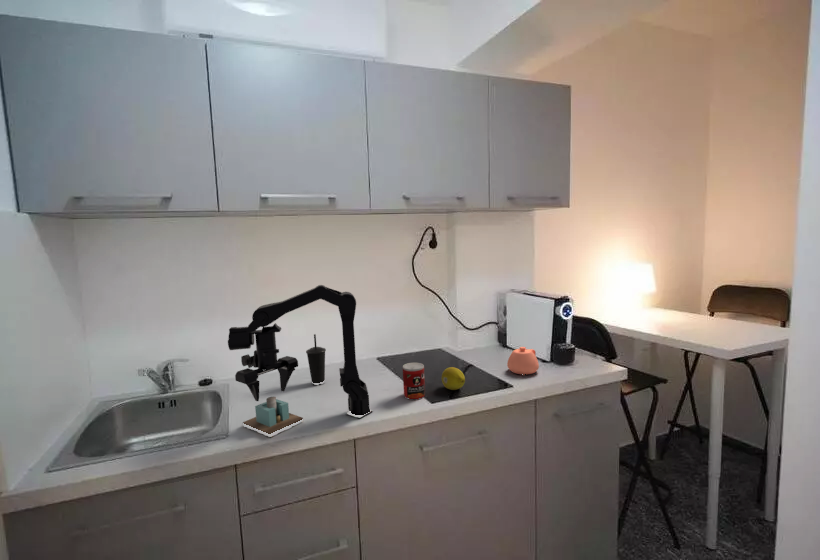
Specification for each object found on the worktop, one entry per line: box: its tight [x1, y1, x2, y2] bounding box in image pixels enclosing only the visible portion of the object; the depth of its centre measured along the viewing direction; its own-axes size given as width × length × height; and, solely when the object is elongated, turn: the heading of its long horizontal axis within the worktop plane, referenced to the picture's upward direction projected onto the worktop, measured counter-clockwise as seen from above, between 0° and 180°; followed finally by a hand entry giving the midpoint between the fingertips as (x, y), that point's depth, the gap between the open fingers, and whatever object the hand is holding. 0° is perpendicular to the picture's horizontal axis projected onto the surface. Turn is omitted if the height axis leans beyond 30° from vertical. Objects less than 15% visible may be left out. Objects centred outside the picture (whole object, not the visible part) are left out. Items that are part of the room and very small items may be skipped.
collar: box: [254, 398, 290, 427], centre depth 127 cm, size 7×7×5 cm
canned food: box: [402, 362, 426, 400], centre depth 144 cm, size 8×8×11 cm
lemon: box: [440, 366, 466, 391], centre depth 149 cm, size 11×8×8 cm
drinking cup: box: [305, 333, 326, 383], centre depth 161 cm, size 8×8×20 cm
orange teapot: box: [506, 346, 540, 376], centre depth 164 cm, size 12×14×10 cm
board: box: [242, 396, 304, 434], centre depth 127 cm, size 14×12×8 cm
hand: (270, 395), depth 126 cm, fingers open, 9 cm apart
